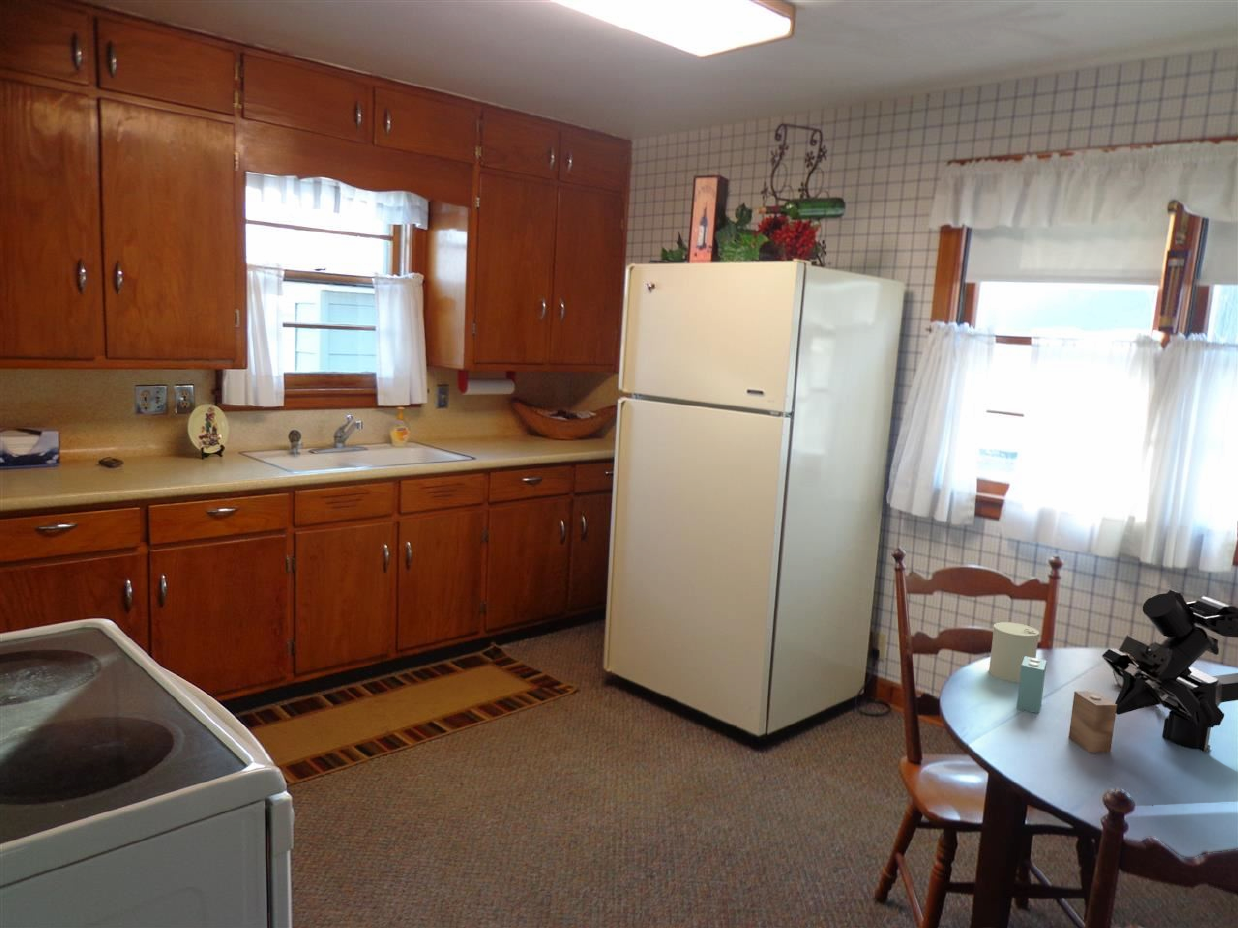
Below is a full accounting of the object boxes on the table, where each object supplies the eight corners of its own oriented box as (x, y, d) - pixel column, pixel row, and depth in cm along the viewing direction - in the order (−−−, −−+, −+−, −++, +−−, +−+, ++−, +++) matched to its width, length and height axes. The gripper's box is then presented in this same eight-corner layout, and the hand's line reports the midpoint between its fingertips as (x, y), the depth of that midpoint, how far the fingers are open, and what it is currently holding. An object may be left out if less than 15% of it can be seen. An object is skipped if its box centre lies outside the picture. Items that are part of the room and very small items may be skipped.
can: (1027, 691, 187) (1034, 637, 185) (982, 679, 192) (988, 626, 191) (1037, 678, 194) (1044, 626, 192) (994, 667, 200) (999, 616, 198)
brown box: (1088, 736, 164) (1094, 690, 162) (1110, 752, 158) (1117, 703, 156) (1068, 737, 163) (1074, 690, 162) (1090, 752, 157) (1096, 704, 156)
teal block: (1041, 702, 178) (1046, 659, 177) (1038, 713, 173) (1044, 668, 172) (1019, 698, 180) (1025, 655, 179) (1016, 708, 175) (1021, 664, 174)
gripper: (1116, 607, 167) (1057, 663, 167) (1194, 641, 149) (1127, 705, 149) (1148, 645, 170) (1090, 701, 170) (1228, 684, 152) (1162, 747, 152)
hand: (1115, 712), depth 160 cm, fingers closed
